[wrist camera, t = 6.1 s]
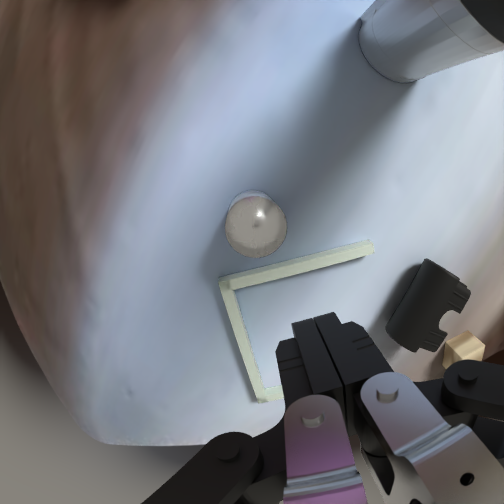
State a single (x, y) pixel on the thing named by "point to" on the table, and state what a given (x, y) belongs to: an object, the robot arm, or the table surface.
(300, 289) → the table surface
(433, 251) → the table surface
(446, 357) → the maple block
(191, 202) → the table surface
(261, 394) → the pale green frame
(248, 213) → the grey metal tin
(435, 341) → the end cap
